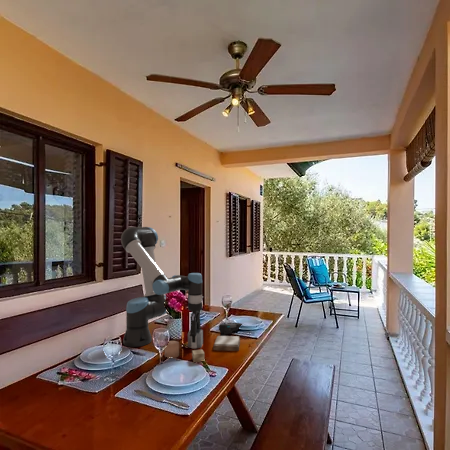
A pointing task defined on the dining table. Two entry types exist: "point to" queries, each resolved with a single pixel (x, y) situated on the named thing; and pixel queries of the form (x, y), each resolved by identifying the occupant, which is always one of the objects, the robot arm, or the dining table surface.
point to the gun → (228, 328)
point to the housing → (199, 338)
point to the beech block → (197, 355)
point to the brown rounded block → (172, 349)
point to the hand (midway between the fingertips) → (195, 344)
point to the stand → (227, 343)
